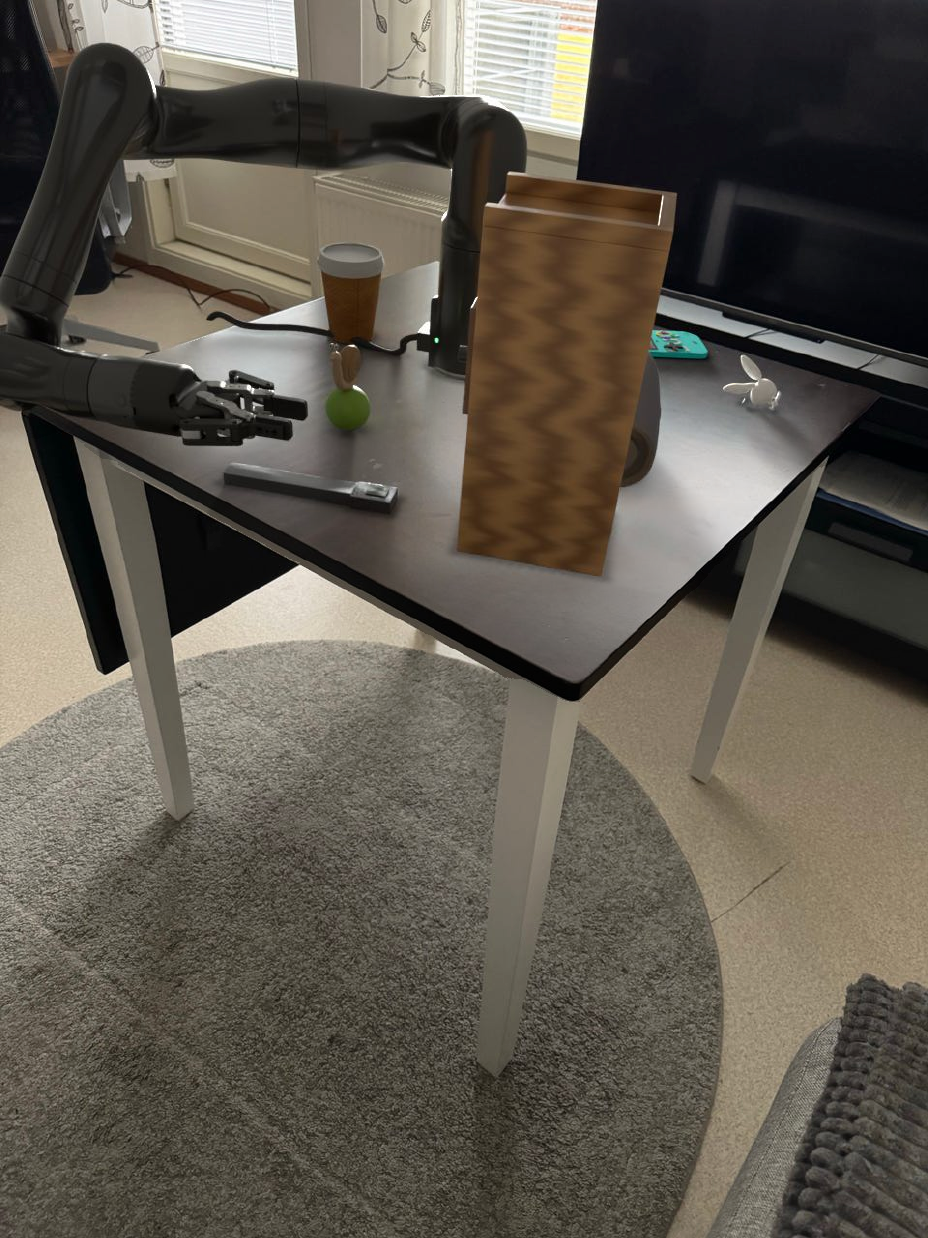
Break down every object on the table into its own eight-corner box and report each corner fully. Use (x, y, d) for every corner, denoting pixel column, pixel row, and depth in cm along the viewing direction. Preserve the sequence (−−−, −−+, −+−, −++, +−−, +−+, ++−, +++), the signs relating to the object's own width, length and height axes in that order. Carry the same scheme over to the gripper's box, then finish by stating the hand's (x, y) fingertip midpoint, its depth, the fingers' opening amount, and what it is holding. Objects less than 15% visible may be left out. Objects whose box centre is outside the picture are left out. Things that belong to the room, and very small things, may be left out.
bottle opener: (222, 486, 100) (221, 473, 99) (234, 472, 103) (232, 459, 102) (390, 515, 98) (390, 501, 97) (397, 500, 101) (398, 486, 99)
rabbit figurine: (772, 418, 123) (726, 382, 122) (757, 427, 127) (712, 393, 126) (793, 385, 124) (747, 349, 124) (778, 395, 128) (733, 361, 127)
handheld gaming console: (710, 351, 136) (611, 348, 135) (708, 358, 137) (610, 355, 136) (695, 330, 143) (601, 326, 141) (693, 336, 144) (600, 332, 142)
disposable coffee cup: (328, 319, 139) (326, 237, 131) (389, 327, 138) (391, 245, 130) (311, 343, 131) (308, 258, 124) (376, 352, 131) (377, 267, 123)
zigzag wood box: (441, 548, 94) (464, 203, 73) (464, 490, 103) (491, 168, 82) (601, 577, 92) (673, 231, 71) (611, 515, 101) (677, 192, 80)
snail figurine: (314, 435, 110) (310, 339, 103) (337, 414, 115) (336, 320, 108) (355, 445, 109) (354, 349, 102) (377, 423, 114) (378, 330, 106)
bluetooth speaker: (650, 503, 104) (668, 423, 97) (568, 491, 105) (581, 411, 98) (653, 415, 121) (669, 342, 115) (583, 405, 122) (595, 332, 116)
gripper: (179, 399, 105) (322, 422, 103) (117, 457, 94) (276, 485, 92) (170, 335, 100) (320, 359, 98) (104, 389, 89) (272, 417, 87)
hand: (298, 420), depth 95 cm, fingers open, 4 cm apart
